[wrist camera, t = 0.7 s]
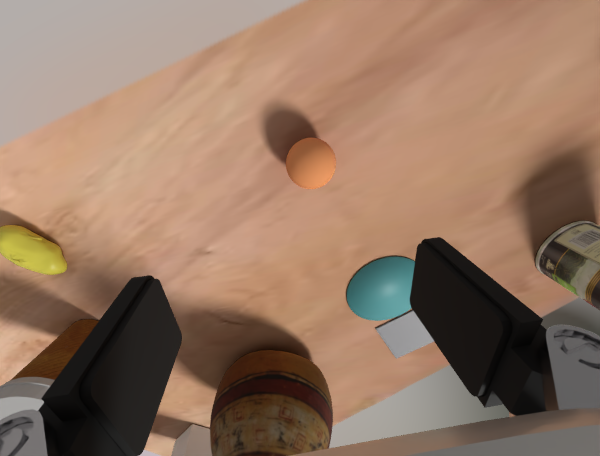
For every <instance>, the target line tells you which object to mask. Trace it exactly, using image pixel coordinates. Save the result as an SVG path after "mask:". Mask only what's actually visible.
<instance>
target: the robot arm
mask: <svg viewBox="0 0 600 456" xmlns="http://www.w3.org/2000/svg"><path fill="white" fill-rule="evenodd" d="M410 305H411V308H412V309H413V311H414V312H415V314H416V315H417V317H418V318H419V320H420V321H421V323H422V324H423V325H424V327H425V328H426V330H427V331H428V333H429V334H430V336H431V337H432V339H433V340H434V341H435V343H436V344H437V346H438V347H439V349H440V350H441V352H442V353H443V355H444V356H445V357H446V359H447V360H448V362H449V363H450V365H451V366H452V368H453V369H454V371H455V372H456V373H457V375H458V376H459V378H460V379H461V380H462V382H463V384H464V385H465V386H466V388H467V389H468V391H469V392H470V393H471V394H472V395H473V396H477V397H478V398H479V400H480V401H481V403H482V404H483V406H484V407H491V406H496V405H502V404H504V406H505V407H506V408H507V409H508V410H509V412H510V413H509V414H510V417H506V418H501V419H494V420H487V421H481V422H476V423H470V424H464V425H458V426H453V427H448V428H441V429H436V430H430V431H424V432H419V433H413V434H407V435H401V436H396V437H390V438H384V439H379V440H374V441H368V442H362V443H357V444H351V445H346V446H340V447H335V448H329V449H324V450H318V451H313V452H307V453H302V454H296V455H291V456H600V336H598V335H596V334H594V333H592V332H590V331H587V330H584V329H582V328H579V327H574V326H569V325H555V326H551V327H550V328H549V329H547V330H546V329H545V328H544V327H543V326H541V322H542V320H543V319H542V318H540V317H539V316H538V315H537V314H535V313H534V312H533V311H532V310H531V309H529V308H528V307H527V306H526V305H524V304H523V303H522V302H521V301H519V300H518V299H517V298H516V297H514V296H513V295H512V294H511V293H509V292H508V291H507V290H506V289H504V288H503V287H502V286H501V285H499V284H498V283H497V282H496V281H494V280H493V279H492V278H491V277H490V276H488V275H487V274H486V273H485V272H483V271H482V270H481V269H480V268H478V267H477V266H476V265H475V264H473V263H472V262H471V261H470V260H468V259H467V258H466V257H465V256H463V255H462V254H461V253H460V252H458V251H457V250H456V249H455V248H453V247H452V246H451V245H450V244H449V243H447V242H446V241H445V240H444V239H442V238H440V237H438V238H430V239H424V240H423V241H422V242H421V244H419V245H418V247H417V252H416V259H415V266H414V272H413V279H412V286H411V293H410ZM181 341H182V335H181V331H180V329H179V326H178V324H177V322H176V319H175V317H174V314H173V312H172V310H171V307H170V305H169V302H168V300H167V298H166V295H165V293H164V290H163V288H162V286H161V283H160V281H159V280H158V279H154V277H152V276H142V277H135V278H132V279H130V281H129V282H128V283H127V285H126V286H125V287H124V289H123V290H122V291H121V293H120V294H119V295H118V297H117V298H116V299H115V301H114V302H113V303H112V305H111V306H110V307H109V309H108V310H107V311H106V313H105V314H104V315H103V317H102V318H101V319H100V321H99V322H98V323H97V325H96V326H95V327H94V329H93V330H92V331H91V333H90V334H89V335H88V337H87V338H86V339H85V341H84V342H83V343H82V345H81V346H80V347H79V349H78V350H77V351H76V353H75V354H74V355H73V357H72V358H71V359H70V361H69V362H68V363H67V365H66V366H65V367H64V369H63V370H62V371H61V373H60V374H59V375H58V377H57V378H56V379H55V381H54V382H53V383H52V385H51V386H50V387H49V389H48V390H47V391H46V393H45V394H44V395H43V397H42V398H41V399H42V400H43V401H44V403H43V405H42V406H41V407H40V409H39V410H38V411H36V410H34V409H30V410H22V411H19V412H16V413H13V414H11V415H9V416H7V417H5V418H3V419H1V420H0V456H138V455H140V454H141V453H142V452H143V450H144V448H145V445H146V442H147V440H148V437H149V434H150V431H151V428H152V425H153V422H154V419H155V417H156V414H157V411H158V408H159V405H160V402H161V399H162V397H163V394H164V391H165V388H166V385H167V382H168V379H169V376H170V374H171V371H172V368H173V365H174V362H175V359H176V356H177V353H178V351H179V348H180V345H181Z"/></svg>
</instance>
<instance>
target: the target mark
mask: <svg viewBox="0 0 600 456" xmlns="http://www.w3.org/2000/svg"><path fill="white" fill-rule="evenodd" d="M414 266H415V261H413V260H411V259H408V258H404V257H397V256H396V257H385V258H381V259H378V260H375V261H373V262H371V263H369V264H368V265H366V266H364V267H363V268H362V269H360V270H359V271H358V272H357V273H356V274H355V276H354V277H353V278H352V280H351V282H350V284H349V286H348V289H347V302H348V304H349V307H350V308H351V310H352V311H353V312H354V313H355V314H356V315H358V316H360V317H362V318H364V319H368V320H376V321H378V320H387V319H391V318H394V317H397V316H399V315H402V314H403V313H405V312H407V311H408V310H410V309H411V305H410V293H411V286H412V279H413V272H414Z"/></svg>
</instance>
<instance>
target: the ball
mask: <svg viewBox="0 0 600 456" xmlns="http://www.w3.org/2000/svg"><path fill="white" fill-rule="evenodd" d="M335 168H336V158H335V154H334V152H333V150H332V149H331V147H330V146H329V145H328V144H327V143H326V142H324V141H323V140H320V139H318V138H305V139H302V140H300V141H298V142H297V143H295V144H294V145H293V146H292V148H291V149H290V151H289V152H288V155H287V159H286V169H287V172H288V175H289V177H290V178H291V180H292V181H293V182H294V183H295V184H297V185H298V186H300V187H302V188H306V189H316V188H319V187H322V186H323V185H325V184H326V183H327V182H328V181H329V180H330V179H331V178H332V176H333V174H334V172H335Z"/></svg>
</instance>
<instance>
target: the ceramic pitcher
mask: <svg viewBox="0 0 600 456" xmlns="http://www.w3.org/2000/svg"><path fill="white" fill-rule="evenodd" d="M332 422H333V411H332V401H331V396H330V392H329V389H328V385H327V383H326V380H325V378H324V376H323V374H322V372H321V371H320V369H319V368H318V367H317V366H316V365H315V364H314V363H313V362H312V361H310V360H308V359H306V358H304V357H301V356H299V355H296V354H293V353H289V352H284V351H274V350H264V351H257V352H252V353H249V354H246V355H245V356H243V357H241V358H240V359H238V360H237V361H236V362H235V363H234V364H233V365H232V366H231V367H230V368H229V369H228V370H227V371H226V373H225V374H224V376H223V378H222V380H221V382H220V385H219V387H218V390H217V393H216V397H215V400H214V404H213V409H212V414H211V423H210V442H211V452H212V456H291V455H296V454H302V453H307V452H313V451H318V450H324V449H329V444H330V439H331V433H332Z"/></svg>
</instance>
